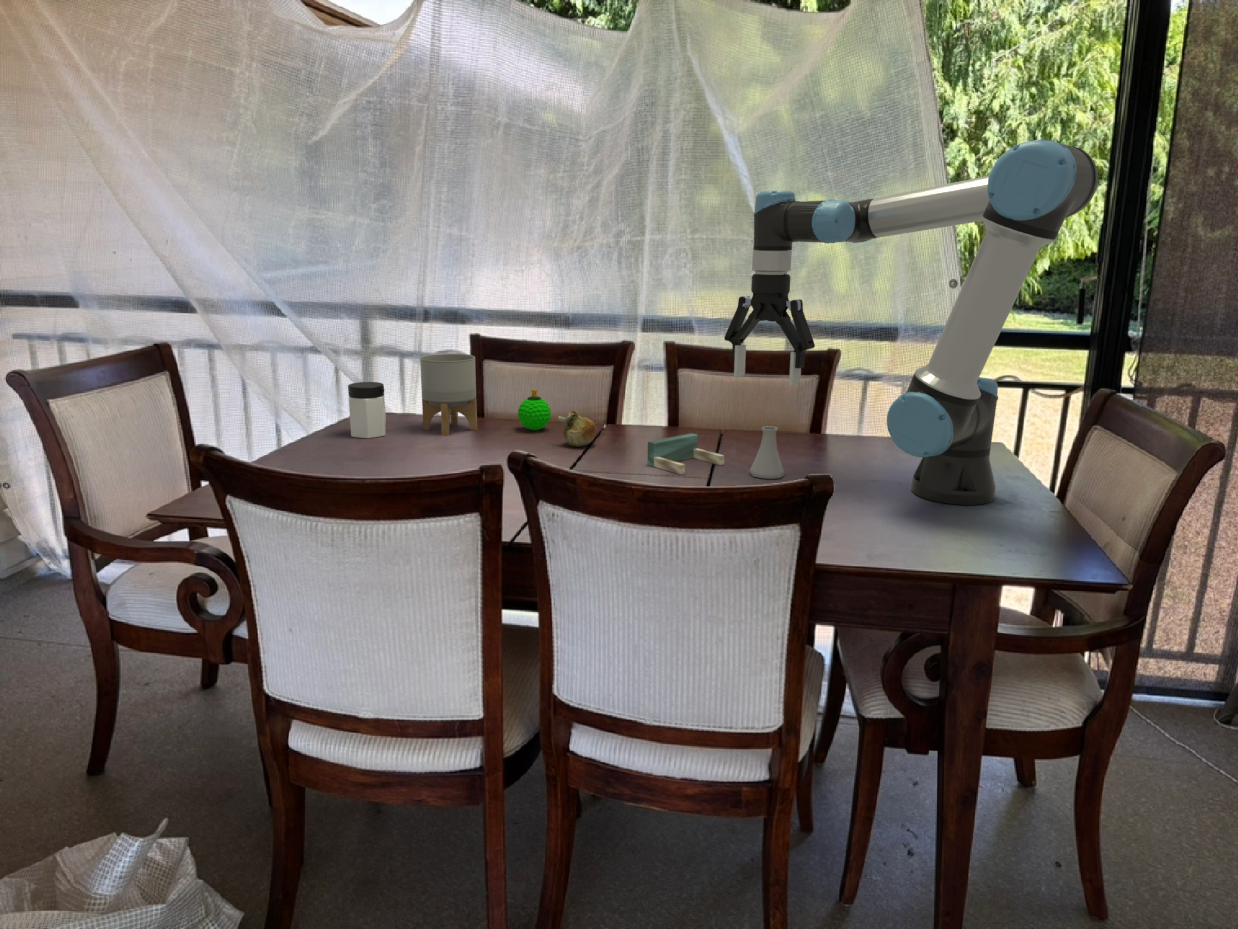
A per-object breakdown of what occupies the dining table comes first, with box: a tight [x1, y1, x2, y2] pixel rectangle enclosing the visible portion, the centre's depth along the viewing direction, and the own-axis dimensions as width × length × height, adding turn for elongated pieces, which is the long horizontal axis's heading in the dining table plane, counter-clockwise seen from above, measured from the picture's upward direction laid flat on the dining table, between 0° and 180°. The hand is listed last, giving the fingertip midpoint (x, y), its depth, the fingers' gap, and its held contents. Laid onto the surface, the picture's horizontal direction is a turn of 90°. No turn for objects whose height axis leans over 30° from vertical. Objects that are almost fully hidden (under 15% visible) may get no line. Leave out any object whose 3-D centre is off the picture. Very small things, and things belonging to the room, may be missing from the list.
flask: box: [748, 425, 785, 480], centre depth 183 cm, size 7×7×10 cm
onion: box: [557, 410, 597, 448], centre depth 205 cm, size 8×8×8 cm
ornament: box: [517, 389, 552, 431], centre depth 219 cm, size 8×8×10 cm
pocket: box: [647, 432, 725, 475], centre depth 190 cm, size 10×13×5 cm
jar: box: [347, 381, 387, 439], centre depth 212 cm, size 9×8×12 cm
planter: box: [419, 352, 478, 437], centre depth 217 cm, size 13×13×18 cm
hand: (766, 380), depth 181 cm, fingers open, 13 cm apart
